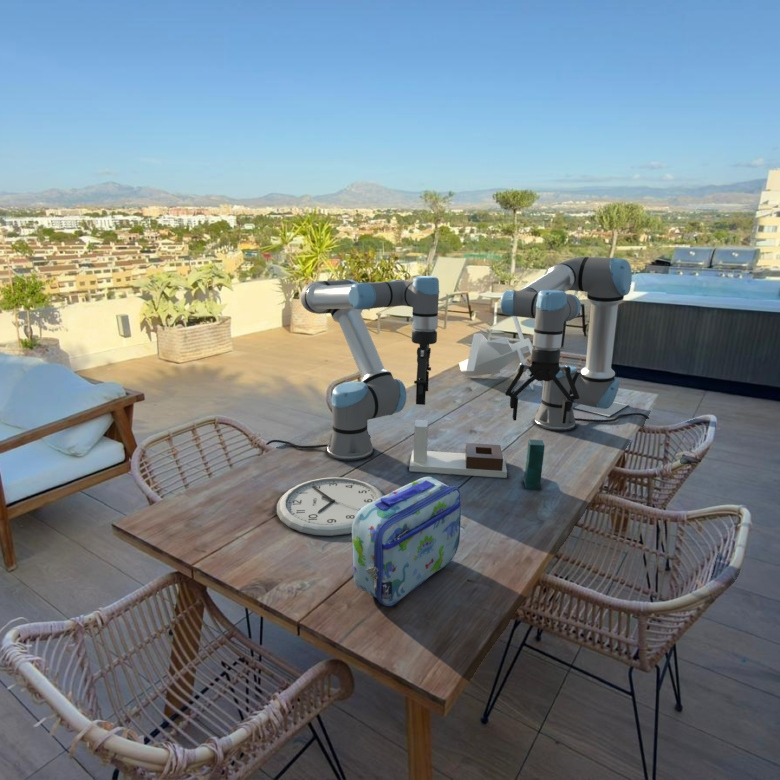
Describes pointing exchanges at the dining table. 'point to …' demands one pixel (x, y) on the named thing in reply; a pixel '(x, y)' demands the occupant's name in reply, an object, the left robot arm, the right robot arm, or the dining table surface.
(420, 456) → the peg board
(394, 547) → the lunch box
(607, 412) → the invitation card
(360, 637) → the dining table surface
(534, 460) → the peg
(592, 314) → the right robot arm
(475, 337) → the white plastic object
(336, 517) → the wall clock
